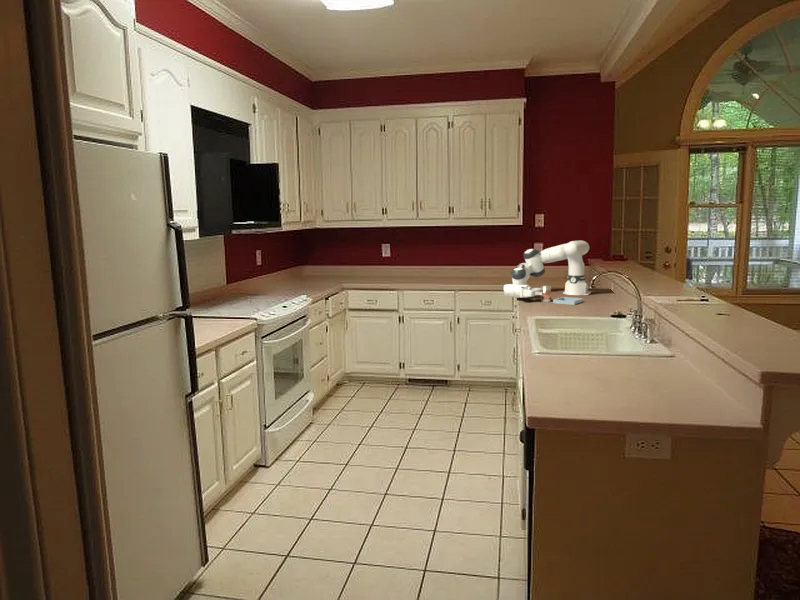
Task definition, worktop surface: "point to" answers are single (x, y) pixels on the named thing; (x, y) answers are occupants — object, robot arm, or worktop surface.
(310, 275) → the worktop surface
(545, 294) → the clear glass cup
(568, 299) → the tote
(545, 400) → the worktop surface
